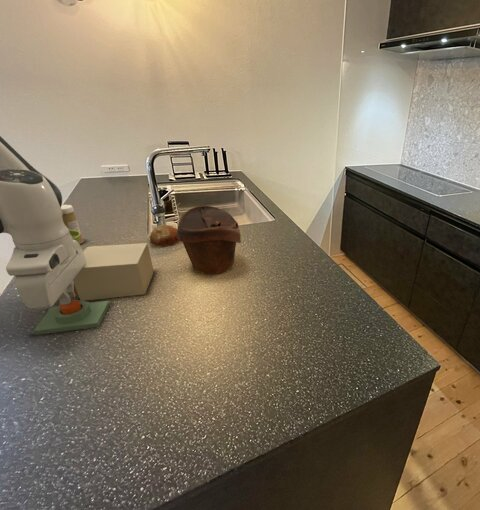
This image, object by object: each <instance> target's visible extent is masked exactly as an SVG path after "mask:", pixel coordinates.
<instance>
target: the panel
mask: <svg viewBox="0 0 480 510" xmlns="http://www.w3.org/2000/svg"><path fill="white" fill-rule="evenodd" d="M78 301H79V302H80V305H81V309H80V310H79V311H77V312H74V313H71V314H63V313H62V311H61V309H60V305H56V306H52V307H50V308H49V309H48V311H47V312H46V314H44V316H43V317H42V319H41V320H40V321H39V322H38V324H37V325H36V326H35V328H34V329H33V330H32V332H33V334H34V336H39V335H45V334H52V333H53V334H54V333H61V332H68V331H76V330H84V329H92V328H99V327H100V325H101V323H102V321H103V319H104V317H105V316H106V313H107V312H108V310H109V308H110V306H111V303H110V300H101V301H95V302H89V301H87V300H86V301H81V300H80V299H79V300H78Z"/></svg>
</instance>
